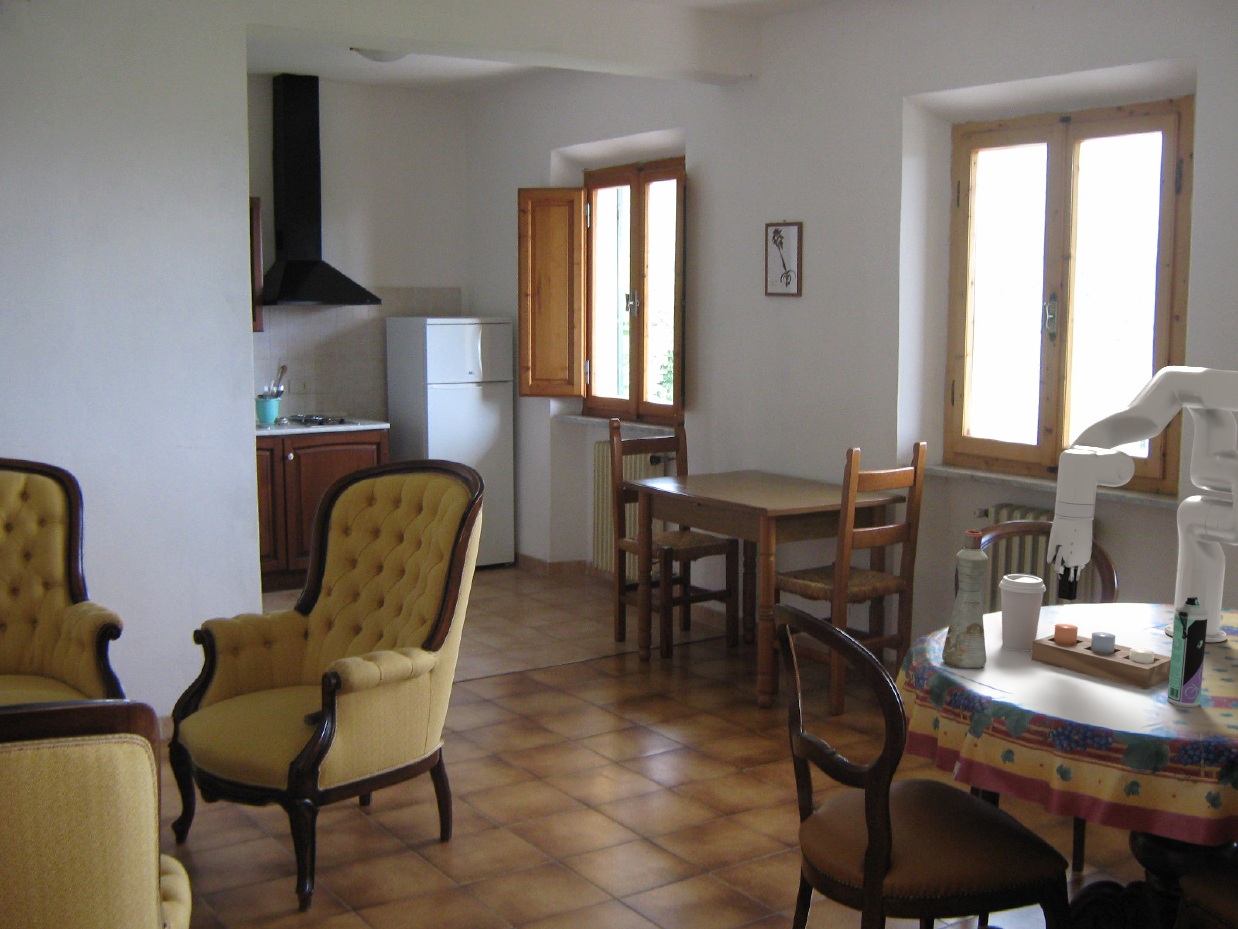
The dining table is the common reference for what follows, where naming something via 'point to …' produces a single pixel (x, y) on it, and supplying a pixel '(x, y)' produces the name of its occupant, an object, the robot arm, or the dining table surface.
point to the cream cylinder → (1141, 655)
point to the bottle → (968, 608)
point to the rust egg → (1065, 634)
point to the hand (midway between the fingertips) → (1067, 598)
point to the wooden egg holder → (1102, 662)
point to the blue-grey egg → (1103, 642)
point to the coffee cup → (1020, 610)
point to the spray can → (1187, 654)
